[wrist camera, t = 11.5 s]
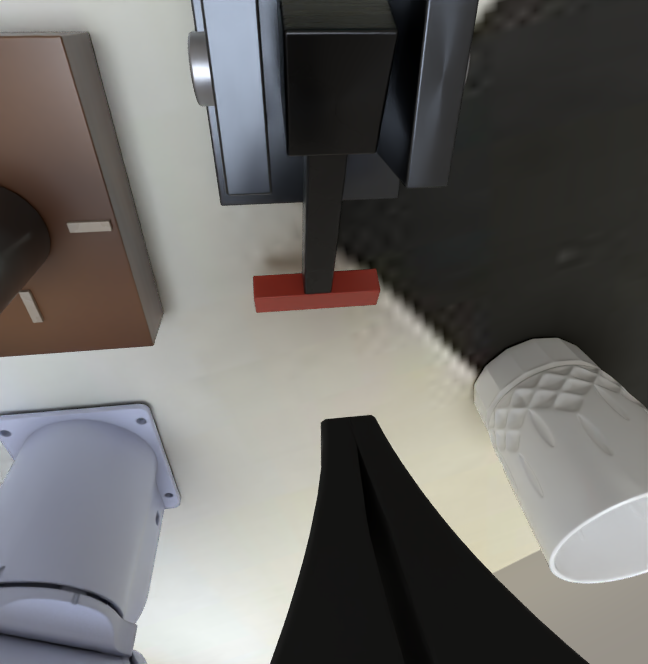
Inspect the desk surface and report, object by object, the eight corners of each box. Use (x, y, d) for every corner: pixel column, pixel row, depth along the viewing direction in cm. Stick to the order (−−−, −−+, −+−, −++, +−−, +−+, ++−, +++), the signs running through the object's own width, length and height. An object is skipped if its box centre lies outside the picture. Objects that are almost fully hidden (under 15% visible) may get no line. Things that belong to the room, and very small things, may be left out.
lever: (369, 271, 19) (379, 318, 18) (254, 278, 19) (256, 327, 17) (443, -32, 9) (473, 29, 8) (206, -34, 9) (204, 31, 8)
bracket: (391, 188, 18) (466, 290, 12) (222, 195, 18) (201, 307, 11) (423, -164, 12) (615, -364, 6) (170, -173, 12) (55, -412, 5)
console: (164, 313, 21) (153, 348, 18) (-17, 325, 20) (-50, 363, 18) (89, 31, 14) (58, 35, 12) (-185, 33, 13) (-270, 37, 11)
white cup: (500, 318, 23) (627, 479, 15) (618, 337, 25) (785, 488, 17) (442, 419, 28) (516, 585, 20) (546, 428, 30) (652, 583, 22)
